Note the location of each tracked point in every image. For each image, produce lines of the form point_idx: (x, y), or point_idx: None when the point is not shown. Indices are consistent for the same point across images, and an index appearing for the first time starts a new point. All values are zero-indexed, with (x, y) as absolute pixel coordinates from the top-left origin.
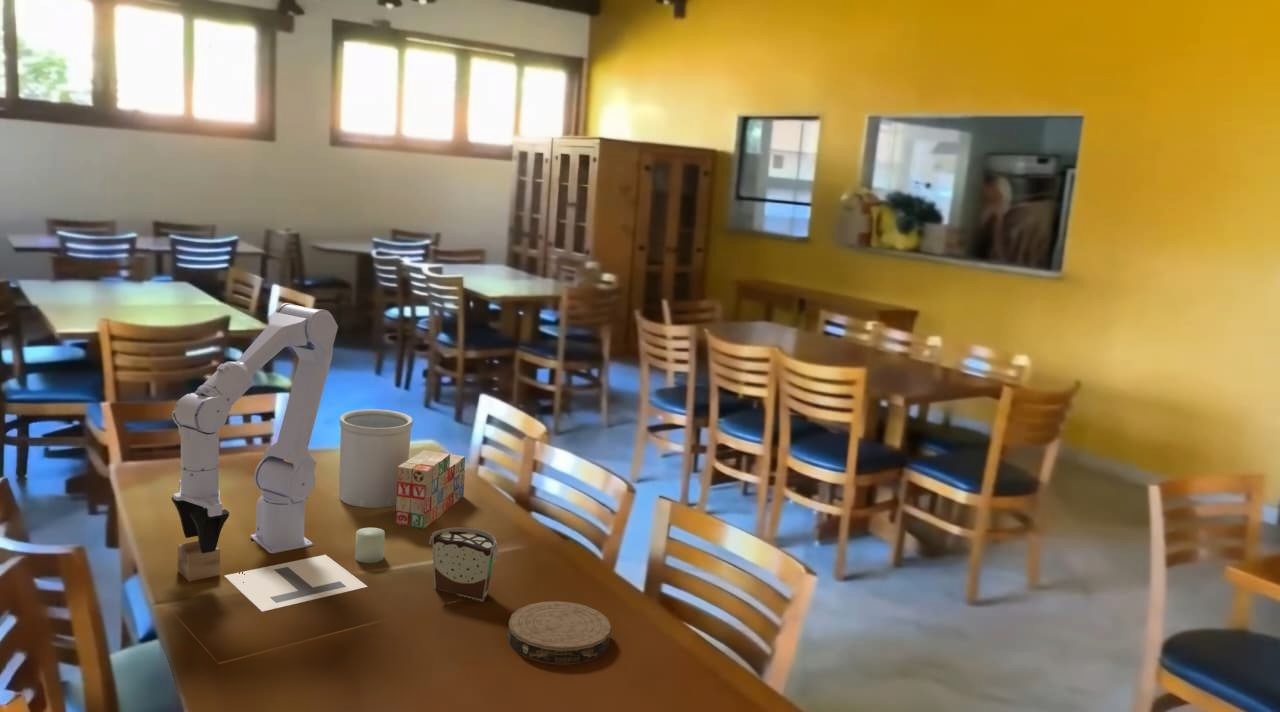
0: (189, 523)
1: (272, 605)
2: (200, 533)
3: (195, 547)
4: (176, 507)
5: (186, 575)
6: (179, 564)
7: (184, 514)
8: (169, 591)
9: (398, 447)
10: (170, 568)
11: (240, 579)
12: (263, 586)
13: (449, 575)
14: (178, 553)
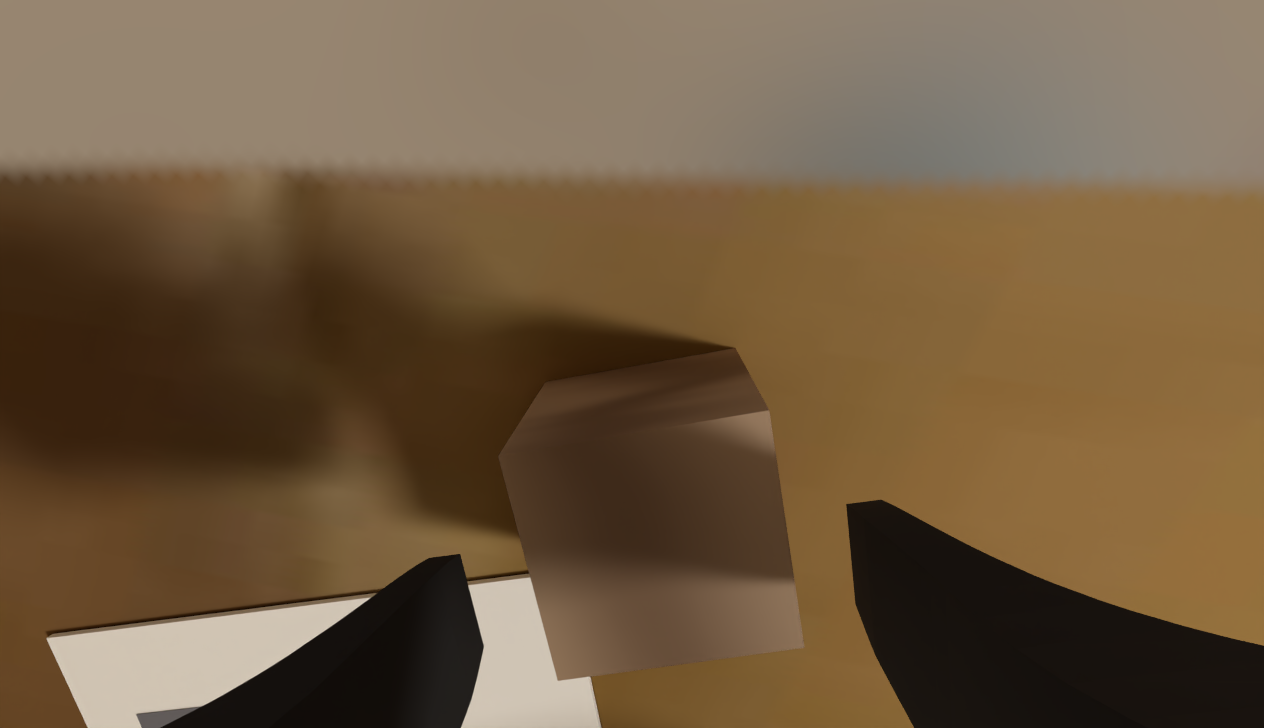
0: (914, 620)
1: (110, 693)
2: (236, 693)
3: (653, 528)
4: (1194, 641)
5: (583, 384)
6: (711, 370)
7: (982, 661)
8: (451, 256)
9: None
10: (822, 316)
11: (481, 635)
12: None
13: None
14: (742, 389)
